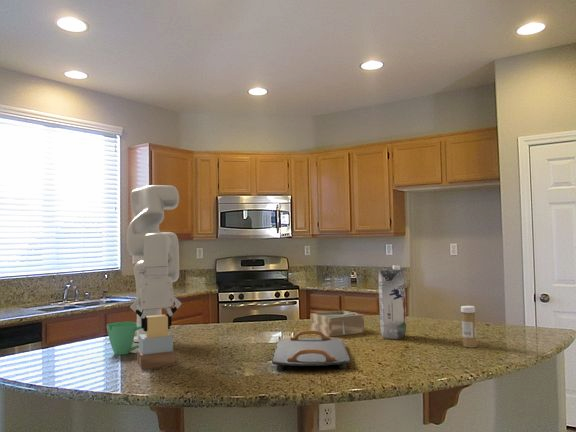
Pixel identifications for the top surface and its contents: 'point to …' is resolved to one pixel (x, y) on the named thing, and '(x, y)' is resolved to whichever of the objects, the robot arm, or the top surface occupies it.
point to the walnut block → (155, 359)
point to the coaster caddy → (337, 323)
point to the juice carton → (392, 303)
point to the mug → (122, 336)
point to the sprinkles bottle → (468, 326)
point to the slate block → (155, 344)
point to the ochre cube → (157, 326)
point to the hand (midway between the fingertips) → (156, 329)
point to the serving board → (310, 351)
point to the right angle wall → (338, 316)
